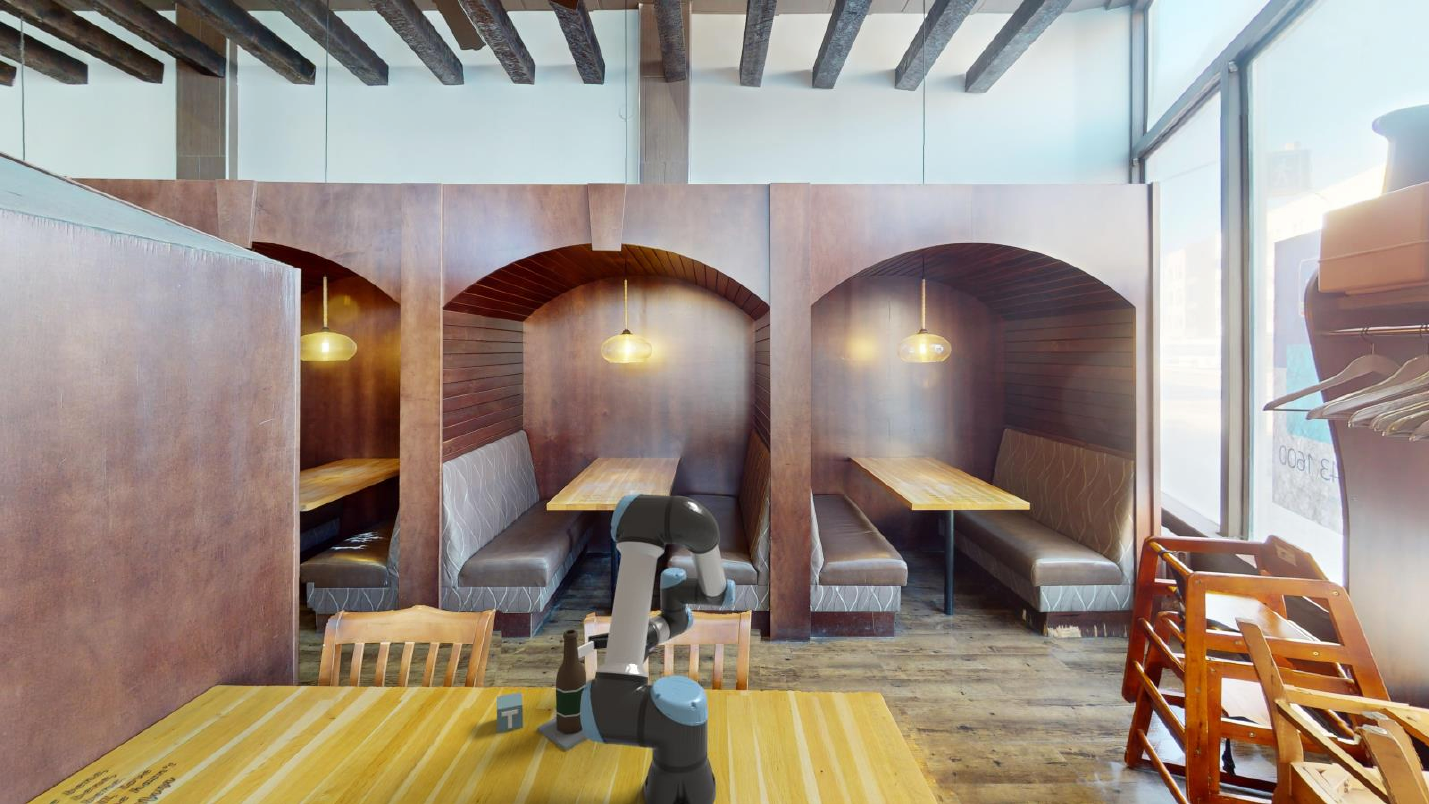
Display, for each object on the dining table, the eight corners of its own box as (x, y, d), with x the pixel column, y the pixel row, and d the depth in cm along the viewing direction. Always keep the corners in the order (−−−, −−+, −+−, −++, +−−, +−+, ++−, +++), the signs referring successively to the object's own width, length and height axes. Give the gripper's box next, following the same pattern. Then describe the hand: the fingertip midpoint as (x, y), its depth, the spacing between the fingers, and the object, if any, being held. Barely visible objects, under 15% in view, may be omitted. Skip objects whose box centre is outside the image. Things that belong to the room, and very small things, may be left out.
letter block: (497, 719, 151) (496, 696, 150) (522, 714, 153) (521, 692, 152) (497, 733, 145) (496, 710, 144) (523, 728, 147) (522, 705, 147)
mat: (606, 726, 147) (606, 723, 147) (566, 750, 138) (566, 747, 138) (576, 708, 155) (576, 705, 155) (537, 730, 146) (536, 727, 146)
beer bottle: (579, 737, 142) (578, 640, 141) (550, 733, 144) (548, 637, 142) (592, 718, 150) (591, 626, 148) (564, 714, 151) (563, 623, 150)
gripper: (682, 661, 159) (622, 695, 143) (620, 634, 175) (560, 662, 159) (681, 634, 159) (622, 665, 142) (619, 609, 175) (559, 635, 158)
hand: (589, 663), depth 151 cm, fingers open, 13 cm apart
